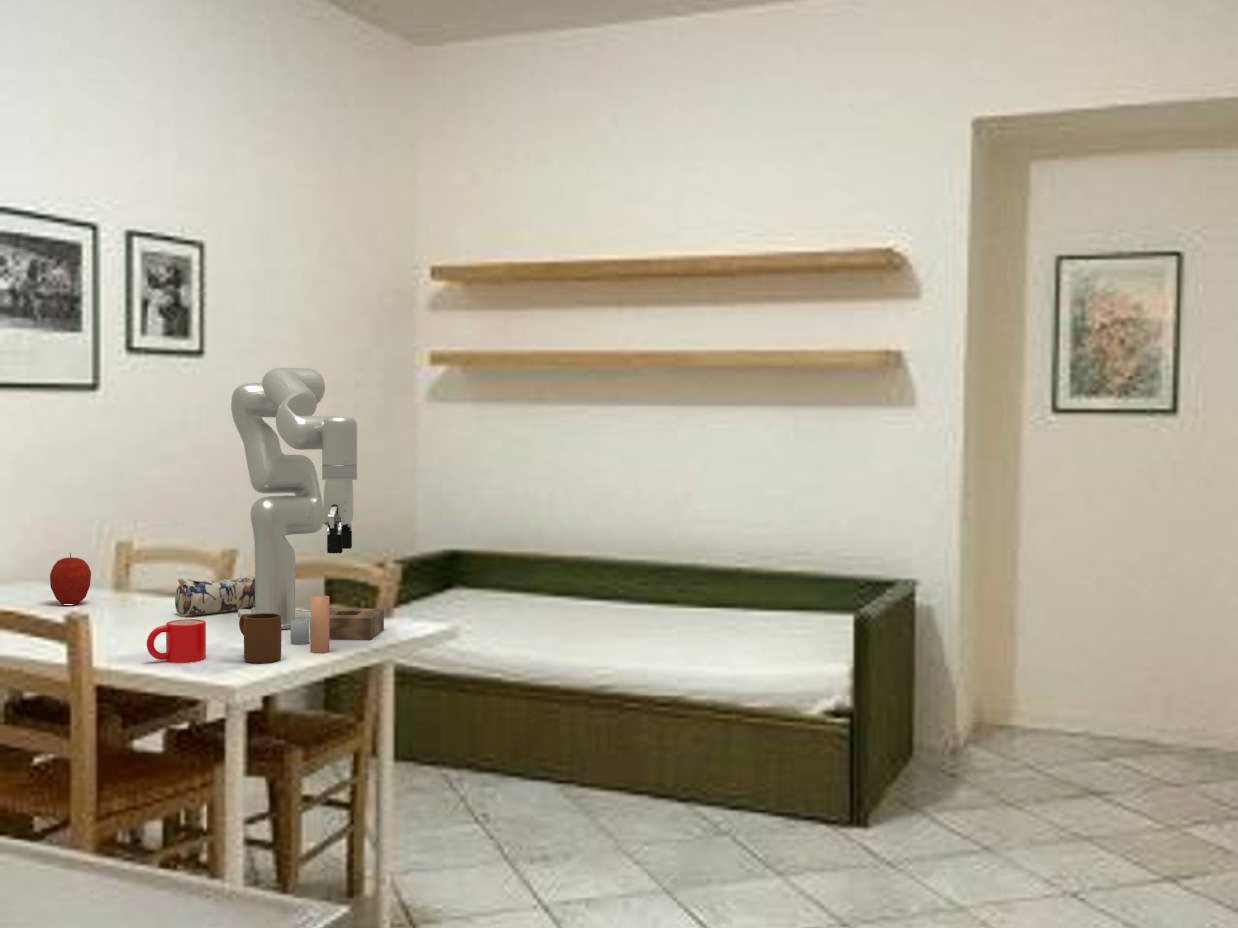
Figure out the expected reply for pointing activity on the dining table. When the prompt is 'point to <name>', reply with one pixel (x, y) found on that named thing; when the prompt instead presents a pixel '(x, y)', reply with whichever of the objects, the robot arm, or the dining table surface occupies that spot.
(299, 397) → the robot arm
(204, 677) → the dining table surface
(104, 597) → the dining table surface
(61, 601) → the apple
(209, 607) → the pencil case
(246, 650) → the mug
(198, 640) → the mug
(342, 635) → the walnut hole block
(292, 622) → the short pin
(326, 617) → the long pin
